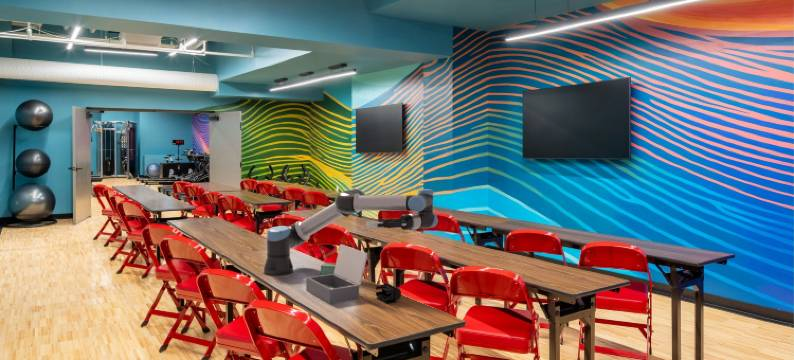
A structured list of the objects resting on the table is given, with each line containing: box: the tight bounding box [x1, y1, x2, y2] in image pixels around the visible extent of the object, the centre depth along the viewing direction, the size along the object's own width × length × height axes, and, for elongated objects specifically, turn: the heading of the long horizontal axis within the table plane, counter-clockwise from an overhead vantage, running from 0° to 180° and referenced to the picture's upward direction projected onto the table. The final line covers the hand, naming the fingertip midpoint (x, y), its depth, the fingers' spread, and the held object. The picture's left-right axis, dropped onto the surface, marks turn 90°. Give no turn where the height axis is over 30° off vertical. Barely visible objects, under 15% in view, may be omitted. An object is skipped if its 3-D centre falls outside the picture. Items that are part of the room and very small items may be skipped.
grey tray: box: [305, 274, 360, 305], centre depth 223 cm, size 24×14×6 cm, turn 34°
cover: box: [334, 243, 368, 286], centre depth 228 cm, size 24×14×1 cm
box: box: [320, 262, 347, 280], centre depth 251 cm, size 7×14×8 cm, turn 77°
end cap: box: [375, 282, 402, 305], centre depth 216 cm, size 10×7×7 cm
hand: (368, 225), depth 232 cm, fingers open, 4 cm apart
